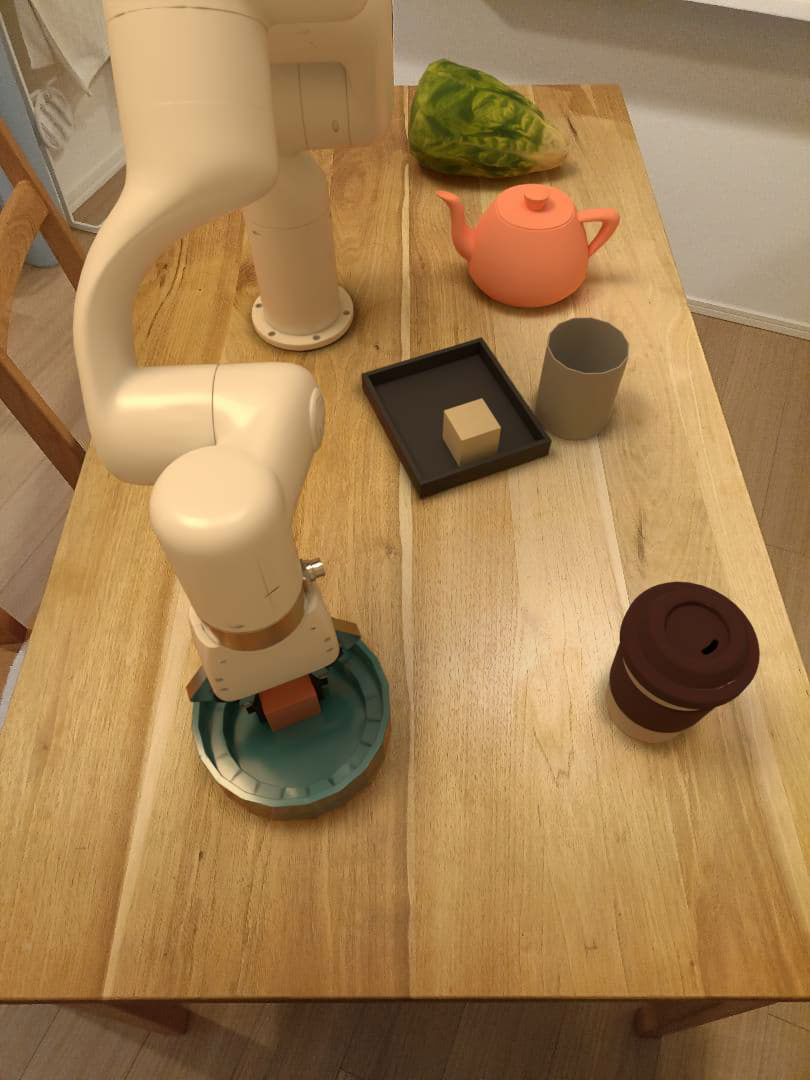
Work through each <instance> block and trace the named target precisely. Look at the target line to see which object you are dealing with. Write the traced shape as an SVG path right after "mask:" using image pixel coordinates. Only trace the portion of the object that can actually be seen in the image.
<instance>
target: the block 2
mask: <svg viewBox="0 0 810 1080" xmlns="http://www.w3.org/2000/svg"><path fill="white" fill-rule="evenodd" d="M500 430H501V427H500V425H499V424H498V422H497V421H496V419H495V417H494V416H493V414H492V413H491V411H490V410H489V408H488V406H487V405H486V403H485V402H484V400H483V399H482V398H481V399H478V400H475V401H472V402H469V403H466V404H463V405H460V406H457V407H453V408H450V409H447V410H444V421H443V440H444V441H445V443H446V445H447V447H448V448H449V450H450V452H451V454H452V455H453V457H454V459H455V461H456V462H457V464H458V466H459V467H461V466H464V465H467V464H470V463H473V462H476V461H479V460H482V459H485V458H488V457H491V456H494V455H497V452H498V445H499V438H500Z"/></svg>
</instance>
